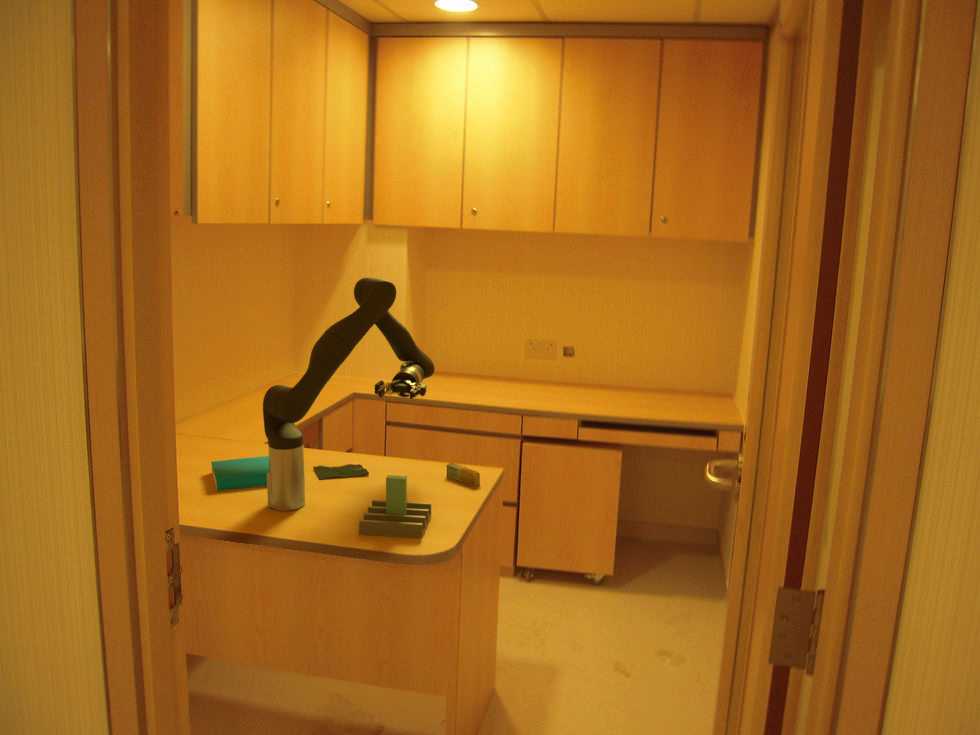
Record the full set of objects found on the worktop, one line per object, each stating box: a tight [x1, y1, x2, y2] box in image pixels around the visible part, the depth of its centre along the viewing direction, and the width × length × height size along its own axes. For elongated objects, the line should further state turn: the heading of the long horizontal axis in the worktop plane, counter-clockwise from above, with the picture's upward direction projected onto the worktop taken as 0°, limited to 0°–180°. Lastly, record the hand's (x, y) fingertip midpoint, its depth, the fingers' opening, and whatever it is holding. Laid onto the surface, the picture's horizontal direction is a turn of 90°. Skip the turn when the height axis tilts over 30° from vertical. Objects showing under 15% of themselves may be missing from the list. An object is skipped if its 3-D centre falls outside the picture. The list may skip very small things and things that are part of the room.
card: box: [385, 474, 408, 515], centre depth 214 cm, size 5×2×12 cm, turn 85°
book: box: [210, 455, 306, 492], centre depth 248 cm, size 17×4×25 cm
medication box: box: [446, 462, 481, 487], centre depth 249 cm, size 12×3×4 cm, turn 47°
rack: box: [358, 499, 432, 539], centre depth 215 cm, size 16×15×4 cm
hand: (395, 394), depth 228 cm, fingers open, 8 cm apart
